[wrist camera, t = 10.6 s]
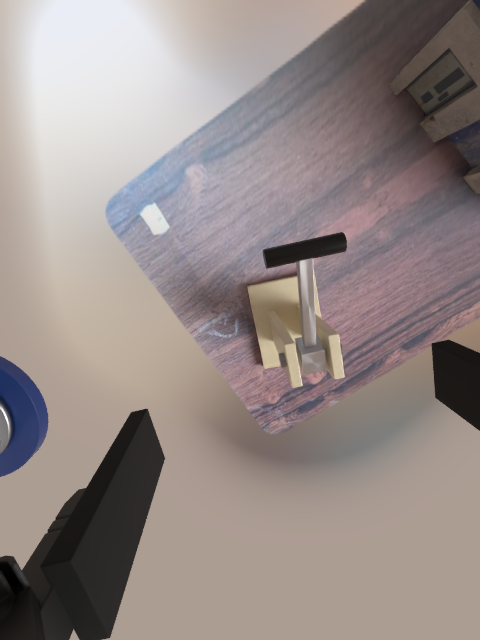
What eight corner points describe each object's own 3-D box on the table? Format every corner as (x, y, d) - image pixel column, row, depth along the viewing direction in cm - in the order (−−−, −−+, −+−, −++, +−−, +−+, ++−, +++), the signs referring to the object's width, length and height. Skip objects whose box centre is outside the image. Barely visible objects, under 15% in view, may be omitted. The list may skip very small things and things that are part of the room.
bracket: (246, 285, 40) (254, 309, 25) (312, 271, 39) (356, 287, 25) (263, 365, 43) (278, 427, 28) (324, 353, 42) (370, 408, 28)
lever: (260, 244, 23) (266, 257, 21) (337, 227, 22) (350, 238, 20) (278, 361, 30) (283, 379, 29) (335, 350, 30) (344, 366, 28)
